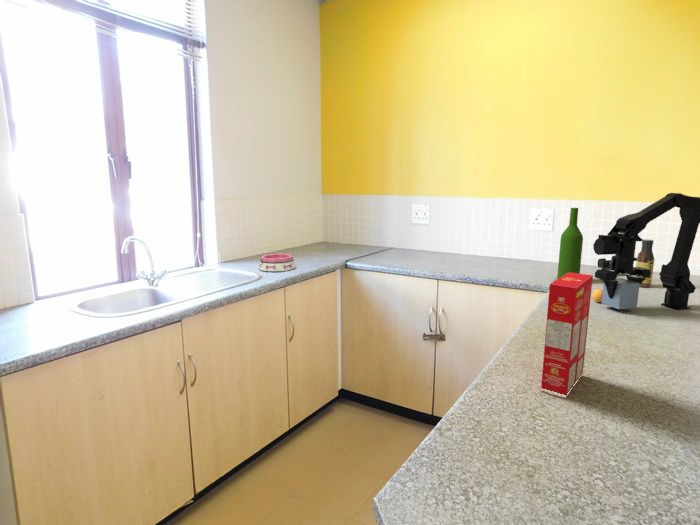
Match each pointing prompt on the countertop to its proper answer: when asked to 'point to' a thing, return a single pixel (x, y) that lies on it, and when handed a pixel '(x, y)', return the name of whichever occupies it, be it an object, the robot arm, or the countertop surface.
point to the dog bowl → (277, 263)
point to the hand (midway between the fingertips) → (620, 297)
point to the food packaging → (566, 331)
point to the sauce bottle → (646, 260)
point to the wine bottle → (570, 247)
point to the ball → (597, 295)
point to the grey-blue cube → (622, 295)
